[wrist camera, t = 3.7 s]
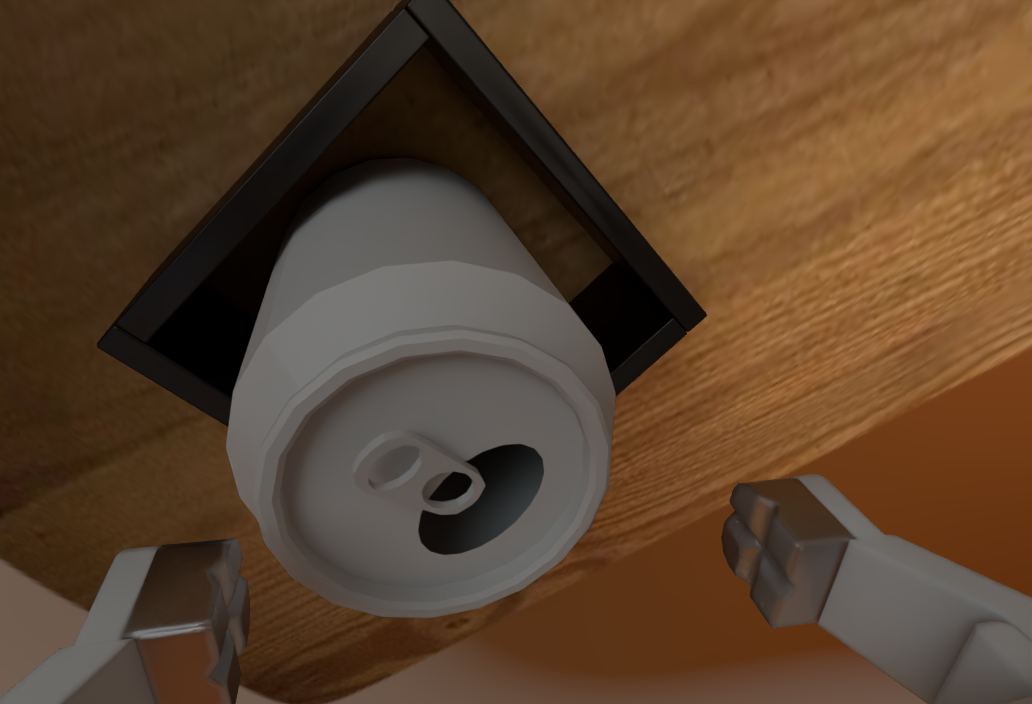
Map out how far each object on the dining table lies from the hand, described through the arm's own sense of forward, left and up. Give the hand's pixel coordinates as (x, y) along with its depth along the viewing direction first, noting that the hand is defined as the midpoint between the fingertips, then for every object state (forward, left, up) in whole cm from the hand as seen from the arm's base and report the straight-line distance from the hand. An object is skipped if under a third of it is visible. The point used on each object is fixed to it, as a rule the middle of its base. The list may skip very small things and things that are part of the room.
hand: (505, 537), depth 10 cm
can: (-1, -1, -13) cm, 13 cm away
